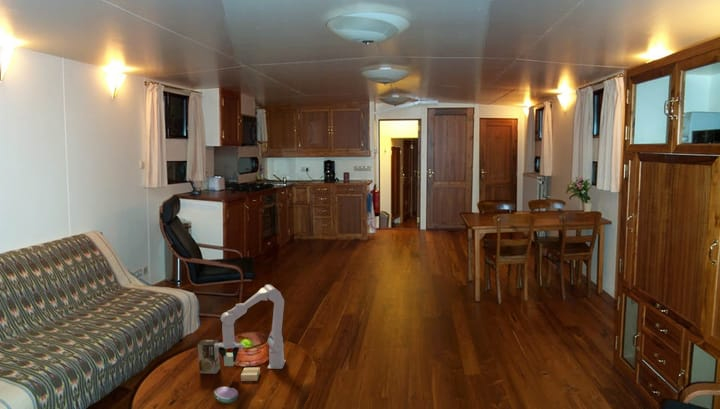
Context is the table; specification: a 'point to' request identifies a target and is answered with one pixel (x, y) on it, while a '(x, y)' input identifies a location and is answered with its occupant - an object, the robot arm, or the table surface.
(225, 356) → the pale grey cube
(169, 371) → the table surface
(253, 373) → the birch block
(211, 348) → the coffee box
